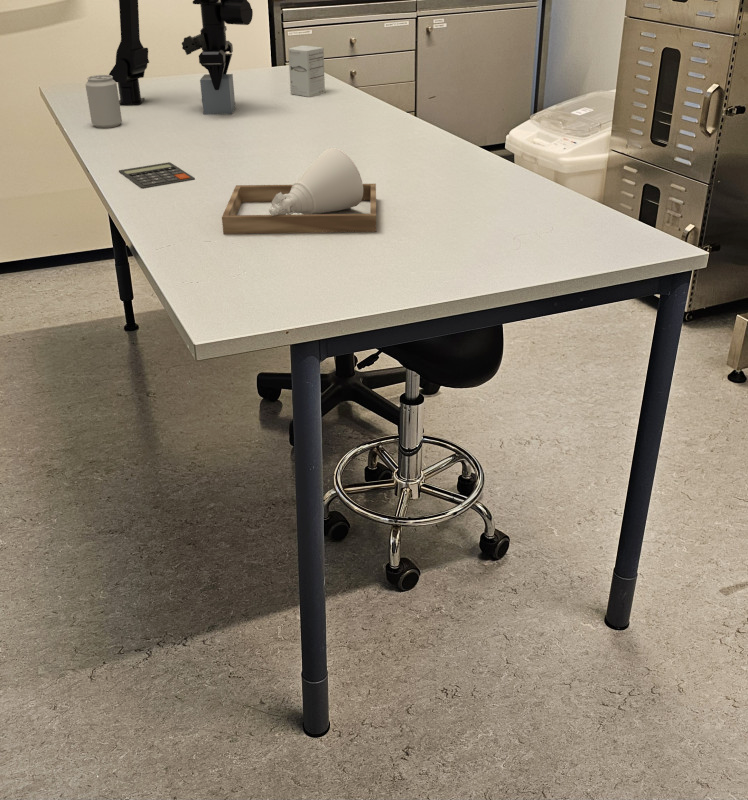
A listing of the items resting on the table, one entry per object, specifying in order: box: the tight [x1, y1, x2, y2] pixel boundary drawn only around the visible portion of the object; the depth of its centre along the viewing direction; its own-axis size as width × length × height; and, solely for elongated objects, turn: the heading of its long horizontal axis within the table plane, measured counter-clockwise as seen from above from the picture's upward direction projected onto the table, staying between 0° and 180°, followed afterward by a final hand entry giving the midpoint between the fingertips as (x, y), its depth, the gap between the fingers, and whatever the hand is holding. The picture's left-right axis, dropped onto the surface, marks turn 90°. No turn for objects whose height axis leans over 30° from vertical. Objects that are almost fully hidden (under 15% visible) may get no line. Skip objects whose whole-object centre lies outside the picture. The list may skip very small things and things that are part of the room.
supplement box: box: [288, 44, 326, 98], centre depth 262 cm, size 7×7×13 cm
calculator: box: [118, 162, 196, 189], centre depth 195 cm, size 12×1×15 cm
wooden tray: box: [221, 183, 377, 235], centre depth 170 cm, size 19×27×3 cm
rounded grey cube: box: [199, 73, 236, 115], centre depth 245 cm, size 8×8×9 cm
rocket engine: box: [268, 147, 364, 216], centre depth 167 cm, size 12×12×18 cm
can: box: [85, 74, 123, 129], centre depth 232 cm, size 8×8×12 cm
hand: (219, 86), depth 244 cm, fingers open, 9 cm apart
